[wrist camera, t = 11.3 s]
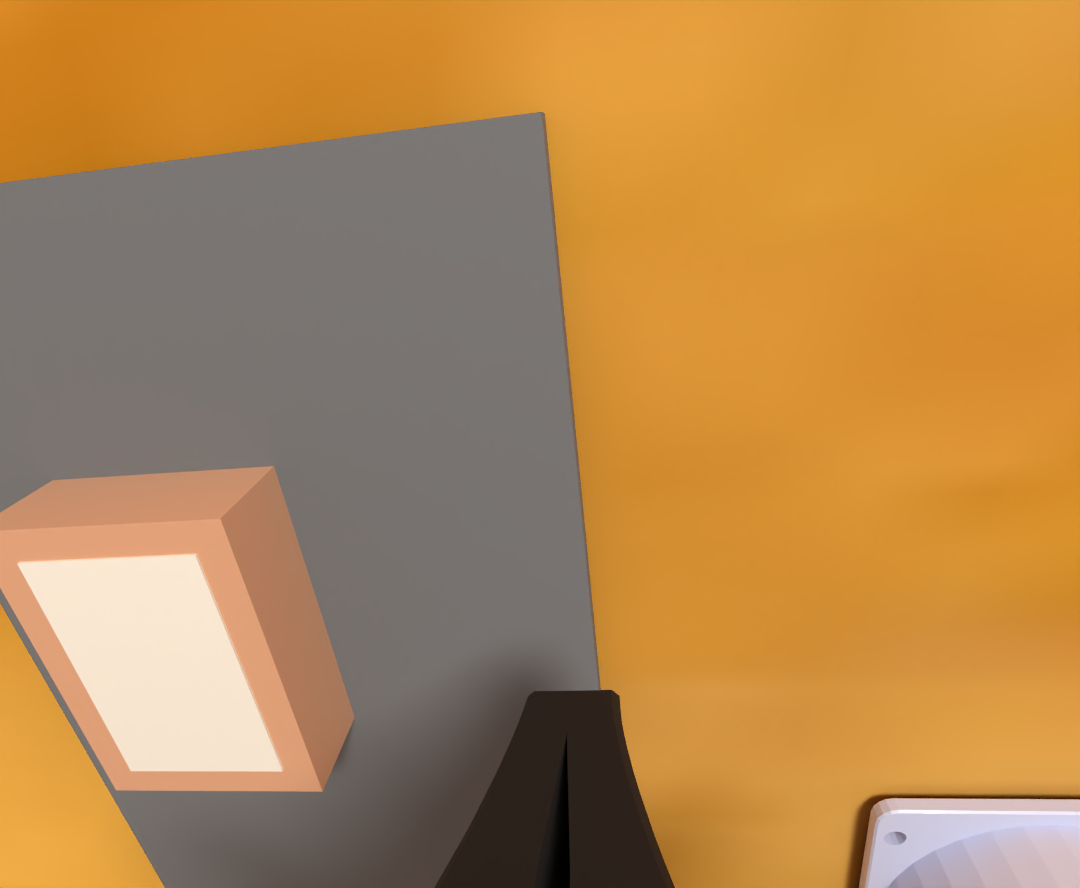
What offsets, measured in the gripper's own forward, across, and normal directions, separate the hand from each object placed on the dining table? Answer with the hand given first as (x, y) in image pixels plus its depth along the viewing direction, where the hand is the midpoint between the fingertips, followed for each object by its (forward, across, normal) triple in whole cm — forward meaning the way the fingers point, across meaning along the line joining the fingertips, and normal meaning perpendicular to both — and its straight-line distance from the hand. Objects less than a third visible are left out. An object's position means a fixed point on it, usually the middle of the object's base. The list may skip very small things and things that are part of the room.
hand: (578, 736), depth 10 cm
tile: (+3, +6, 0) cm, 7 cm away
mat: (+4, +7, +1) cm, 8 cm away
